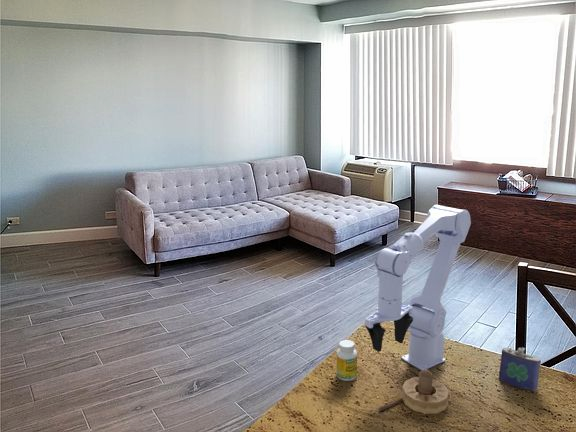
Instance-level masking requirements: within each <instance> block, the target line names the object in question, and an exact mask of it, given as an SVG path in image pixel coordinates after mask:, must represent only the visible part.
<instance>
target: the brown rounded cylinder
mask: <svg viewBox="0 0 576 432" xmlns="http://www.w3.org/2000/svg"><path fill="white" fill-rule="evenodd" d="M418 377H419V382H418V393H419V394H422V395H426V396H427V395H432V379H434V378H433V377H434V375H433V373H432V372H431V371H430V370H429V369H424V370H420V371H419V373H418Z"/></svg>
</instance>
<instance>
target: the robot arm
mask: <svg viewBox="0 0 576 432" xmlns="http://www.w3.org/2000/svg"><path fill="white" fill-rule="evenodd" d="M471 224H472V221H471V215H470V212H469V210H467V209H460V208H455V207H449V206H446V205H440V204H434V205H433V206H432V207H431V208H430V209H429V210H428V212H427V216H426V219H425V220H424V221H423V222H422V223H421V224H420V225H419V227H418V228H417V229H416V230H415V231H414V232H413V231H409V232H405V233H404V234H403V235H402V236H401V237H400V238H399V239H398V240H397V241H396V242H394V243H393V244H392V245H391V246H389V248H388V247H385V248H383V249H380V250H379V251H377V254H376V256H375V260H374V261H373V262H374V267H375V268H376V270H377V271H376V274H377V277H378V279H379V280H378V299H377V301H378V303H377V307H376V308H375V309H376V311H375V312H373V313H372V314H370V315H369V316H368V317H365V318H364V327H365V329H366V330H367V332H368V333H369V334H368V335H369V337H370V340H371V344H372V349H373V350H375V351H376V352H378V353H380V352H381V351H382V346H383V338H384V337H385V333H386V331H387V330H386V328H383V326H382V325H381V324H383V323H386V322H392V321H393V324H394V340H395V342H397V343H399V344H403V342H404V340H405V336H406V334H407V332H408V331H409V337H408V341H409V342H408V353H407V354H405V355H402V356H401V359H402V360H403V361H405V362H406V363H409V364H410V365H412V366H413V367H415V368H417V369H418V370H419V371H422V370H424V369H427V370H429V369H430V368H432V367H434V366H437V365H439V364H441V363H443V362H445V361H446V358H445V357H444V348H445V337H444V334H443V333H444V332H443V330H444V328H445V324H446V321H445V320H446V316H447V310H446V309H445V307H444V305H443V304H442V303H441V300H442V296H443V293H444V291H445V288H446V285H447V282H448V279H449V277H450V275H451V271H452V268H453V266H454V262H455V259H456V256H457V254H458V251H459V248H460V246H461V244H462V243H464V242H465V241H466V239H467V238H466V237H467V235H468V233H469V230H470V227H471ZM433 236H436V237H437V238H438V239H439V245H438V246H437V247H438V248H437V250H436V253H435V255H434V259H433V261H432V264H431V267H430V270H429V273H428V275H427V278H426V279H425V283H424V286H423V289H422V292H421V294H420V295H418V296H416V297H413V298H411V300H410V302H409V304H405V305H404V304H403V303H402V302H403V284H404V283H403V282H404V281H403V280H404V275H405V274H406V272H407V271H408V269H409V266H410V265H411V263H412V260H413V259H414V258H415V257H416V256H417V255H418V254H419V253H420V252H422V250H424V243H426V241H427V240H429V239H430V238H431V237H433ZM402 304H403V305H402Z"/></svg>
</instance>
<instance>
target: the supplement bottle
mask: <svg viewBox="0 0 576 432" xmlns="http://www.w3.org/2000/svg"><path fill="white" fill-rule="evenodd" d="M338 344H339V346H338V349H337V351H336V376H337V378H338V379H339V380H341V381H345V382H351V381H354V380H355V379H356V378H357V373H358V351H357V350H356V349H355V346H356V343H355V342H354V341H352V340H350V339H344V340H340V341H339V343H338Z"/></svg>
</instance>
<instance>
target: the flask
mask: <svg viewBox="0 0 576 432" xmlns="http://www.w3.org/2000/svg"><path fill="white" fill-rule="evenodd" d="M525 351H526V348H525V347H523V346H522V347H518V348H517V350H515V349H512V347H504V348H502V349H501V354H500V355H501V356H500V366H499V372H498V381H499V382H500V383H502V384H504V385H506V386H508V387H511V388H514V389H518V390H520V389H521V391H523V390H525V392H527V391H530V392H529V393H532V392H535V393H537V391H538V386H539V379H540V368H541V362H542V360H541V358H540V357H538V356H534V355H530V354H526V353H525Z"/></svg>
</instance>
